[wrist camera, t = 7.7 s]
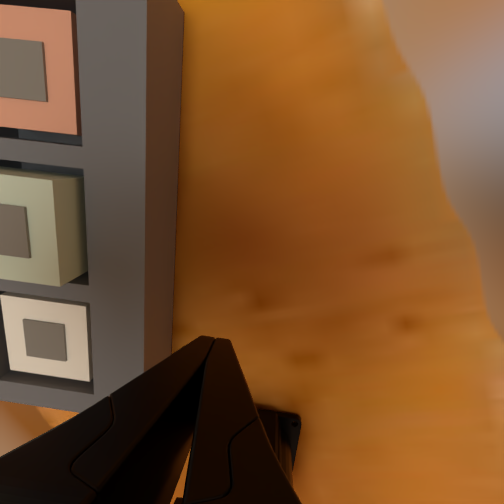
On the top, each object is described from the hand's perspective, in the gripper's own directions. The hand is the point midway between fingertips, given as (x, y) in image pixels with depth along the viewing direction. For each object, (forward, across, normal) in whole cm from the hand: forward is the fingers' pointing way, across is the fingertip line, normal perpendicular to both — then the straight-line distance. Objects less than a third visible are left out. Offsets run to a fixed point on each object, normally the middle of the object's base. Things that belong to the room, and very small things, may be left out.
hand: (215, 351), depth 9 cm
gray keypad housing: (+12, +11, -1) cm, 16 cm away
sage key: (+9, +11, -1) cm, 14 cm away
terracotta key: (+10, +11, -8) cm, 17 cm away
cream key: (+10, +11, +6) cm, 16 cm away
